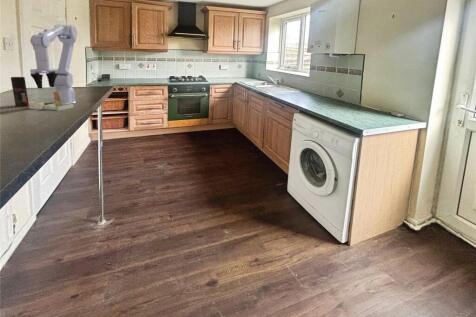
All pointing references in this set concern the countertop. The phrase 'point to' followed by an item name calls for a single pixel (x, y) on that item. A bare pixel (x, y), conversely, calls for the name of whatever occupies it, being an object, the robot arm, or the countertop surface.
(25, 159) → the countertop surface
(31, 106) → the white octagonal bowl
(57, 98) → the dowel
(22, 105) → the deodorant
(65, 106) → the tray
